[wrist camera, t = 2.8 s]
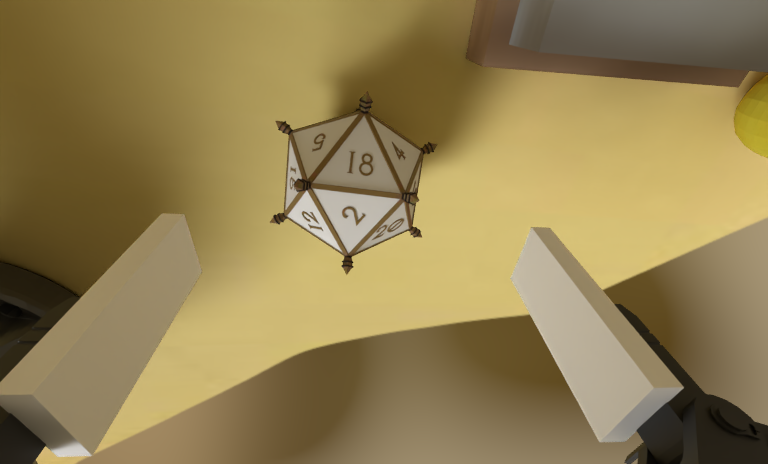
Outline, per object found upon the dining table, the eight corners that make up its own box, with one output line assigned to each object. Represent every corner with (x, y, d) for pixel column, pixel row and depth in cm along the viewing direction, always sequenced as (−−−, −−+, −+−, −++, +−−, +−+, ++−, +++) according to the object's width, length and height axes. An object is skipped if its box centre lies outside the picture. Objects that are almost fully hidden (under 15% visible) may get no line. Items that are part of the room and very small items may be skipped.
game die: (373, 116, 23) (497, 115, 16) (359, 232, 25) (464, 279, 18) (241, 86, 18) (340, 63, 10) (236, 238, 19) (316, 311, 12)
